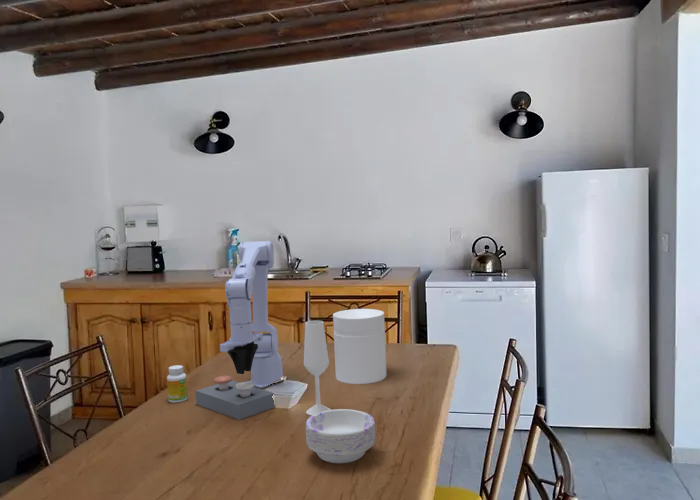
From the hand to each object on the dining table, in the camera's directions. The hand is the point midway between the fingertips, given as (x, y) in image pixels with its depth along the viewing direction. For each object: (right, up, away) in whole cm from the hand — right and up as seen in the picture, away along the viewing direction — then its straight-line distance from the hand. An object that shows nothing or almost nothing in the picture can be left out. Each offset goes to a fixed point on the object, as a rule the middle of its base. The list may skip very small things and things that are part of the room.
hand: (243, 372), depth 167 cm
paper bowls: (+27, -12, -31) cm, 43 cm away
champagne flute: (+20, -10, -3) cm, 23 cm away
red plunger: (-7, -7, +7) cm, 12 cm away
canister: (+32, -7, +27) cm, 43 cm away
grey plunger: (0, -7, +1) cm, 7 cm away
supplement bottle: (-21, -11, +12) cm, 26 cm away
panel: (-3, -10, +4) cm, 12 cm away
